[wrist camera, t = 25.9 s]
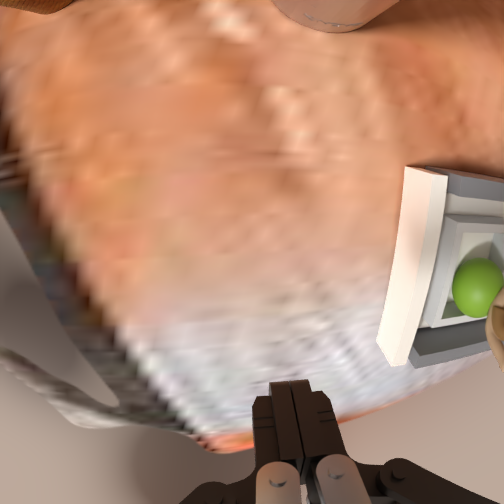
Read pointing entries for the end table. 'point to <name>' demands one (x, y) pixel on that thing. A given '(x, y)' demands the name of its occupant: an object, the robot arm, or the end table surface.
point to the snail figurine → (482, 299)
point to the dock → (468, 333)
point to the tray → (434, 258)
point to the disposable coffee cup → (36, 5)
